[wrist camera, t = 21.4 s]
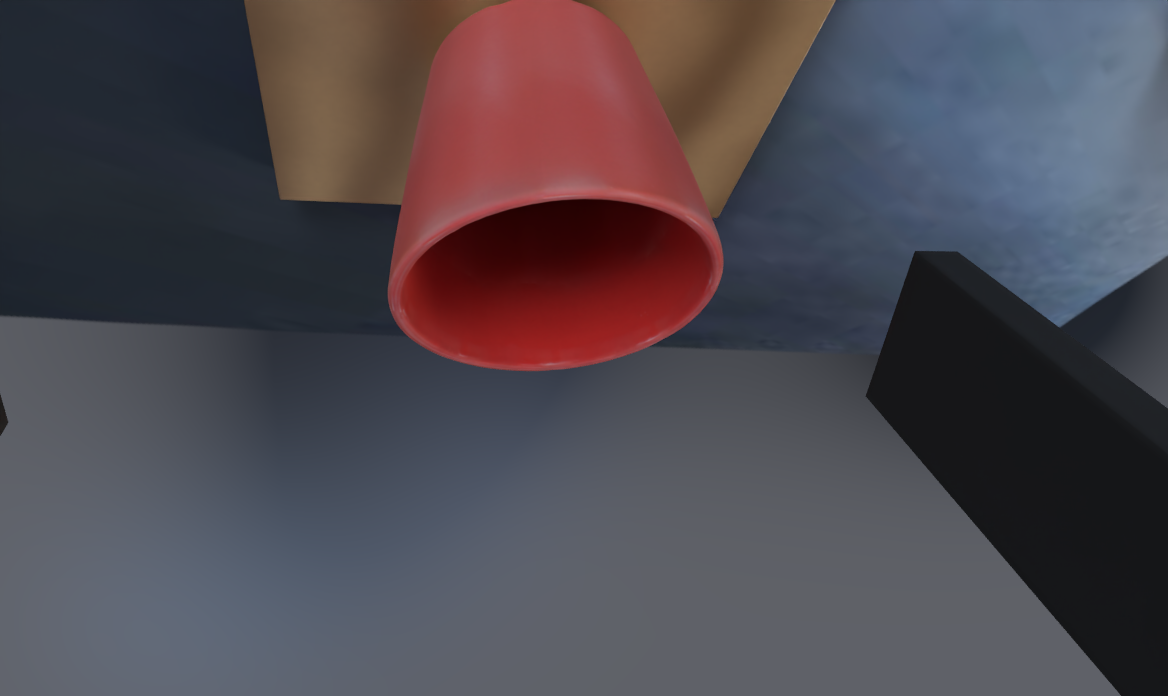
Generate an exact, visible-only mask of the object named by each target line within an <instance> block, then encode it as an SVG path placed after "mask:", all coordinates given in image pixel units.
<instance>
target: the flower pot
mask: <svg viewBox="0 0 1168 696" xmlns="http://www.w3.org/2000/svg"><path fill="white" fill-rule="evenodd" d="M722 272H723V252H722V246H721V242H720V239H719V235H718V232H717V230H716V227H715V225H714V222H713V220H712V217H711V215H710V212H709V210H708V207H707V205H706V203H705V200H704V198H703V195H702V193H701V191H700V188H699V186H698V184H697V181H696V179H695V177H694V175H693V172H692V170H691V168H690V166H689V163H688V161H687V159H686V157H685V154H684V152H683V150H682V147H681V145H680V143H679V141H678V139H677V136H676V134H675V132H674V130H673V128H672V126H671V124H670V122H669V119H668V117H667V115H666V113H665V111H664V109H663V107H662V105H661V103H660V101H659V99H658V97H657V95H656V93H655V91H654V89H653V87H652V85H651V83H650V81H649V79H648V77H647V75H646V73H645V71H644V69H643V66H642V64H641V62H640V60H639V58H638V56H637V54H636V52H635V50H634V48H633V46H632V44H631V42H630V41H629V39H628V37H627V36H626V35H625V33H624V32H623V31H622V30H621V29H620V28H619V27H618V26H617V25H616V24H615V23H614V22H613V21H612V20H611V19H609V18H608V17H607V16H605V15H604V14H603V13H601V12H599V11H597V10H596V9H594V8H592V7H589V6H587V5H584V4H582V3H578V2H575V1H572V0H511V1H508V2H506V3H503V4H500V5H495V6H490V7H487V8H484V9H482V10H480V11H478V12H476V13H475V14H473V15H471V16H470V17H468V18H467V19H466V20H464V21H463V22H461V23H460V24H459V25H458V26H457V27H455V28H454V29H453V30H452V31H451V32H450V33H449V34H448V36H447V37H446V38H445V39H444V41H443V42H442V44H441V45H440V47H439V49H438V51H437V53H436V55H435V57H434V60H433V62H432V65H431V70H430V74H429V78H428V83H427V87H426V92H425V96H424V100H423V104H422V109H421V113H420V117H419V121H418V125H417V130H416V134H415V139H414V144H413V148H412V153H411V158H410V163H409V168H408V174H407V179H406V184H405V189H404V194H403V199H402V205H401V211H400V215H399V221H398V226H397V232H396V237H395V243H394V249H393V256H392V262H391V269H390V277H389V285H388V301H389V306H390V310H391V312H392V315H393V317H394V319H395V321H396V323H397V325H398V326H399V327H400V328H401V329H402V331H403V332H404V333H405V334H406V335H407V336H408V337H410V338H411V339H412V340H414V341H415V342H416V343H418V344H419V345H421V346H423V347H424V348H426V349H428V350H430V351H432V352H434V353H436V354H438V355H440V356H443V357H446V358H448V359H451V360H454V361H458V362H461V363H465V364H469V365H473V366H479V367H484V368H492V369H502V370H514V371H544V370H559V369H567V368H575V367H581V366H586V365H592V364H596V363H600V362H604V361H609V360H612V359H615V358H618V357H622V356H626V355H628V354H631V353H634V352H637V351H639V350H642V349H644V348H646V347H649V346H651V345H653V344H655V343H657V342H658V341H660V340H662V339H664V338H666V337H668V336H670V335H672V334H673V333H675V332H676V331H678V330H680V329H681V328H682V327H684V326H685V325H686V324H688V323H689V322H690V321H691V320H692V319H693V318H694V317H696V316H697V315H698V314H699V313H700V312H701V311H702V309H703V308H704V307H705V306H706V305H707V303H708V302H709V301H710V300H711V298H712V297H713V295H714V293H715V291H716V289H717V287H718V285H719V282H720V279H721V276H722Z"/></svg>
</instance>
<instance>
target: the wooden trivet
mask: <svg viewBox="0 0 1168 696" xmlns="http://www.w3.org/2000/svg"><path fill="white" fill-rule="evenodd" d="M508 1H511V0H244V4H245V9H246V15H247V20H248V26H249V31H250V37H251V42H252V48H253V53H254V59H255V64H256V70H257V76H258V81H259V87H260V92H261V98H262V103H263V109H264V114H265V120H266V125H267V131H268V136H269V142H270V147H271V153H272V158H273V164H274V169H275V175H276V180H277V186H278V191H279V197H280V199H281V200H303V201H327V202H351V203H375V204H399V205H402V199H403V194H404V189H405V184H406V179H407V174H408V168H409V163H410V158H411V153H412V148H413V144H414V139H415V134H416V130H417V125H418V121H419V117H420V113H421V109H422V104H423V100H424V96H425V92H426V87H427V83H428V78H429V74H430V70H431V65H432V62H433V60H434V57H435V55H436V53H437V51H438V49H439V47H440V45H441V44H442V42H443V41H444V39H445V38H446V37H447V36H448V34H449V33H450V32H451V31H452V30H453V29H454V28H455V27H457V26H458V25H459V24H460V23H461V22H463V21H464V20H466V19H467V18H468V17H470V16H471V15H473V14H475V13H476V12H478V11H480V10H482V9H484V8H487V7H490V6H495V5H500V4H503V3H506V2H508ZM572 1H575V2H578V3H582V4H584V5H587V6H589V7H592V8H594V9H596V10H597V11H599V12H601V13H603V14H604V15H605V16H607V17H608V18H609V19H611V20H612V21H613V22H614V23H615V24H616V25H617V26H618V27H619V28H620V29H621V30H622V31H623V32H624V33H625V35H626V36H627V37H628V39H629V41H630V42H631V44H632V46H633V48H634V50H635V52H636V54H637V56H638V58H639V60H640V62H641V64H642V66H643V69H644V71H645V73H646V75H647V77H648V79H649V81H650V83H651V85H652V87H653V89H654V91H655V93H656V95H657V97H658V99H659V101H660V103H661V105H662V107H663V109H664V111H665V113H666V115H667V117H668V119H669V122H670V124H671V126H672V128H673V130H674V132H675V134H676V136H677V139H678V141H679V143H680V145H681V147H682V150H683V152H684V154H685V157H686V159H687V161H688V163H689V166H690V168H691V170H692V172H693V175H694V177H695V179H696V181H697V184H698V186H699V188H700V191H701V193H702V195H703V198H704V200H705V203H706V205H707V207H708V210H709V212H710V215H711V217H712V218H718V217H719V215H720V213H721V211H722V209H723V207H724V206H725V204H726V202H727V200H728V198H729V196H730V194H731V193H732V191H733V189H734V187H735V185H736V183H737V182H738V180H739V178H740V176H741V174H742V172H743V170H744V169H745V167H746V165H747V163H748V161H749V159H750V158H751V156H752V154H753V152H754V150H755V148H756V146H757V145H758V143H759V141H760V139H761V137H762V135H763V134H764V132H765V130H766V128H767V126H768V124H769V122H770V121H771V119H772V117H773V115H774V113H775V111H776V110H777V108H778V106H779V104H780V102H781V100H782V98H783V97H784V95H785V93H786V91H787V89H788V87H789V86H790V84H791V82H792V80H793V78H794V76H795V74H796V73H797V71H798V69H799V67H800V65H801V63H802V62H803V60H804V58H805V56H806V54H807V52H808V51H809V49H810V47H811V45H812V43H813V41H814V39H815V38H816V36H817V34H818V32H819V30H820V28H821V27H822V25H823V23H824V21H825V19H826V17H827V15H828V14H829V12H830V10H831V8H832V6H833V4H834V3H835V1H836V0H572Z"/></svg>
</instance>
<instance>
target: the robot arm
mask: <svg viewBox="0 0 1168 696" xmlns="http://www.w3.org/2000/svg"><path fill="white" fill-rule="evenodd" d="M866 397H867V398H868V399H869V400H870V402H871V403H872V404H873V405H874V406H875V408H876V409H877V410H878V411H879V412H880V413H881V414H882V416H883V417H884V418H885V419H886V420H887V422H888V423H889V424H890V425H891V426H892V427H893V429H894V430H895V431H896V432H897V433H898V434H899V436H900V437H901V438H902V439H903V440H904V442H905V443H906V444H907V445H908V446H909V447H910V449H912V451H913V452H914V453H915V454H916V456H917V457H918V458H919V459H920V460H921V461H922V463H923V464H924V465H925V466H926V467H927V469H928V470H929V471H930V472H931V473H932V474H933V476H934V477H935V478H936V479H937V480H938V481H939V483H940V484H941V485H942V486H943V487H944V488H945V490H946V491H947V492H948V493H949V494H950V495H951V497H952V498H953V499H954V500H955V501H956V503H957V504H958V505H959V506H960V507H961V508H962V509H963V511H964V512H965V513H966V514H967V515H968V517H969V518H970V519H971V520H972V521H973V522H974V524H975V525H976V526H977V527H978V528H979V529H980V531H981V532H982V533H983V534H984V535H985V537H986V538H987V539H988V540H989V541H990V542H991V543H992V545H993V546H994V547H995V548H996V549H997V551H998V552H999V553H1000V554H1001V555H1002V556H1003V558H1004V559H1005V560H1006V561H1007V562H1008V563H1009V565H1010V566H1011V567H1012V568H1013V569H1014V570H1015V571H1016V573H1017V574H1018V575H1019V576H1020V577H1021V579H1022V580H1023V581H1024V582H1025V583H1026V584H1027V586H1028V587H1029V588H1030V589H1031V590H1032V592H1033V593H1034V594H1035V595H1036V596H1037V597H1038V599H1039V600H1040V601H1041V602H1042V603H1043V604H1044V606H1045V607H1046V608H1047V609H1048V610H1049V612H1050V613H1051V614H1052V615H1053V616H1054V617H1055V619H1056V620H1057V621H1058V622H1059V623H1060V624H1061V626H1063V628H1064V629H1065V630H1066V631H1067V633H1068V634H1069V635H1070V636H1071V637H1072V638H1073V640H1074V641H1075V642H1076V643H1077V644H1078V646H1079V647H1080V648H1081V649H1082V650H1083V651H1084V653H1086V655H1087V656H1088V657H1089V658H1090V660H1091V661H1092V662H1093V663H1094V664H1095V665H1096V666H1097V668H1098V669H1099V670H1100V671H1101V672H1102V674H1103V675H1104V676H1105V677H1106V678H1107V680H1108V681H1109V682H1110V683H1111V684H1112V685H1113V686H1114V688H1115V689H1116V690H1117V691H1118V692H1119V694H1120V695H1121V696H1168V408H1166V407H1165V406H1164V405H1162V404H1161V403H1160V402H1158V401H1157V400H1156V399H1154V398H1153V397H1152V396H1150V395H1149V394H1148V393H1146V392H1145V391H1143V390H1142V389H1141V388H1140V387H1138V386H1137V385H1135V384H1134V383H1133V382H1131V381H1130V380H1129V379H1127V378H1126V377H1125V376H1123V375H1122V374H1120V373H1119V372H1118V371H1116V370H1115V369H1114V368H1113V367H1111V366H1110V365H1109V364H1107V363H1106V362H1105V361H1103V360H1102V359H1101V358H1099V357H1098V356H1097V355H1095V354H1094V353H1093V352H1091V351H1090V350H1089V349H1087V348H1086V347H1085V346H1083V345H1082V344H1081V343H1079V342H1078V341H1076V340H1075V339H1074V338H1072V337H1071V336H1070V335H1068V334H1067V333H1065V332H1064V331H1063V330H1062V329H1060V328H1059V327H1058V326H1056V325H1055V324H1054V323H1052V322H1051V321H1050V320H1048V319H1047V318H1046V317H1044V316H1043V315H1042V314H1040V313H1039V312H1038V311H1036V310H1035V309H1034V308H1032V307H1031V306H1030V305H1028V304H1027V303H1026V302H1024V301H1023V300H1021V299H1020V298H1019V297H1017V296H1016V295H1015V294H1013V293H1012V292H1011V291H1009V290H1008V289H1007V288H1005V287H1004V286H1003V285H1001V284H1000V283H999V282H997V281H996V280H995V279H993V278H992V277H991V276H989V275H988V274H987V273H985V272H984V271H983V270H981V269H980V268H979V267H977V266H976V265H975V264H973V263H972V262H971V261H969V260H968V259H967V258H965V257H964V256H962V255H961V254H960V253H958V252H945V251H915V253H914V256H913V258H912V261H911V264H910V267H909V270H908V273H907V276H906V279H905V282H904V285H903V288H902V291H901V294H900V297H899V300H898V303H897V306H896V309H895V312H894V315H893V317H892V320H891V323H890V326H889V329H888V332H887V335H886V338H885V341H884V344H883V347H882V350H881V353H880V356H879V359H878V362H877V365H876V368H875V371H874V374H873V377H872V380H871V382H870V385H869V388H868V391H867V394H866ZM7 423H8V420H7V416H6V413H5V409H4V406H3V403H2V399H1V395H0V435H1V434H2V432H3V430H4V429H5V427H6V425H7Z"/></svg>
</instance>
